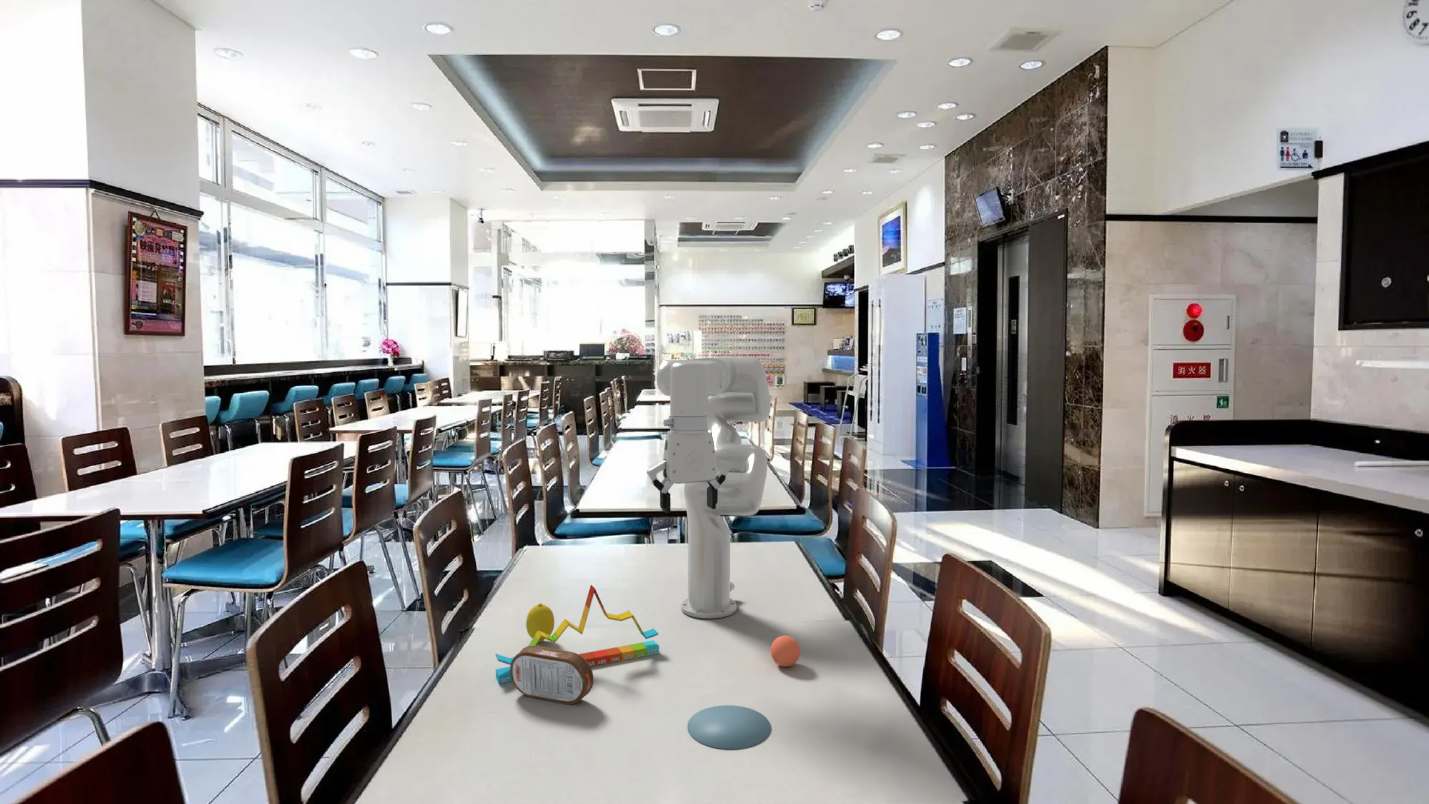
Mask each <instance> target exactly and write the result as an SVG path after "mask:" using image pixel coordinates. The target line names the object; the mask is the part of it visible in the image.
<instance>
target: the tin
mask: <svg viewBox="0 0 1429 804" xmlns="http://www.w3.org/2000/svg"><path fill="white" fill-rule="evenodd" d="M579 654H580V653H576V652H574V651H568V650H562V649H557V648H550V647H545V646H540V645H536V646H535V645H532V646H529V645H528V646H525V647H524V648H522V649H521V650H520V651H519V652H518V653H517V654H516V655H515V656H513V657H514V658H513V660H512V661H511V665H509V667H510V674H511V679H512V682H511V683H513V686H514V687H515V688H516V690H517V691H518V692H520V693H521V694H522V695H524V696H526V697H529V698H534V699H539V700H544V701H547V702H548V701H550V702H553V703H557V704H558V703H559V704H564V705H574V704H577V703H578V702H580V701H581V700H582V699H584V697H586V696H587V695H589V694H590V692H591V691H592V689H593V687H594V680H595V679H594V673H593V670H592V666H591V667H590V665H589V664H588V662H587V661H586V660H585V659H584V658H583V657H582V656H580V655H579Z"/></svg>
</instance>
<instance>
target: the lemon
mask: <svg viewBox="0 0 1429 804" xmlns="http://www.w3.org/2000/svg"><path fill="white" fill-rule="evenodd" d="M525 626H526V627H525V628H526V631H527V634H528V635H529V637H530V638H532V639H533V638H534V636H535V634H536V632H537V631H538V630H539V631H541V632H543V633H546V634H548V635H551V636H552V634H553V633H554V628H555V616H554V612H553V610H552V609H551V608H550V607H549V606H547V605H546V604H543V603H541V602H540V603H538V604H536V605H534V606H533V607H532V608H531V609H530V610H529V611H528V613H527V616H526V622H525ZM544 640H545V639H544V638H542V637H541V638H540V640H539V641H538V643H543V642H544Z"/></svg>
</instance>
